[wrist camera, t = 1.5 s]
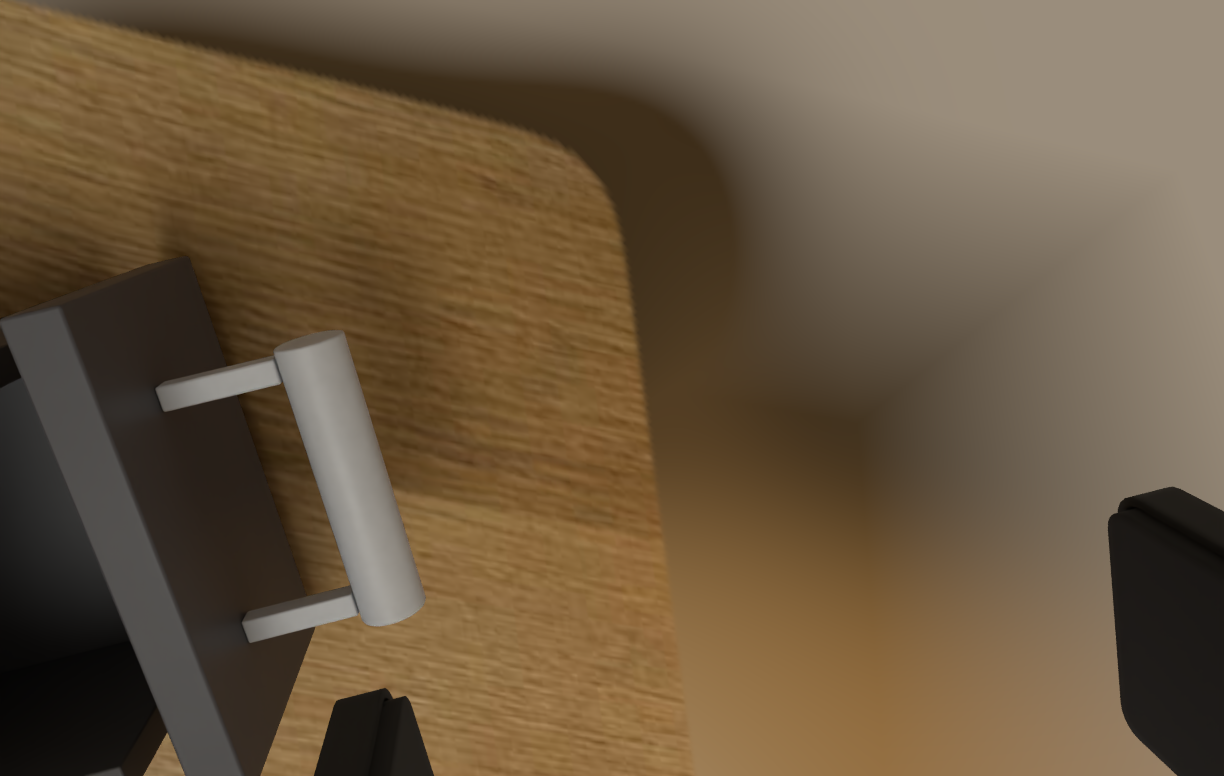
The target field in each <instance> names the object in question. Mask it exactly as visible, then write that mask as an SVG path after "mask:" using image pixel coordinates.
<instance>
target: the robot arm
mask: <svg viewBox="0 0 1224 776" xmlns="http://www.w3.org/2000/svg"><path fill="white" fill-rule="evenodd" d="M1108 536H1109V549H1110V563H1111V577H1112V589H1113V603H1114V617H1115V630H1116V644H1117V658H1118V669H1119V670H1118V671H1119V685H1120V698H1121V707H1122V711H1123V714H1124V717H1125V720H1126V722H1127V724H1128V726H1129V727H1130V729H1131V730H1132V732H1133V733H1134V734H1135V736H1136V737H1137V738H1138V739H1139V740H1140V741H1141V742H1142V743H1143V744H1144V745H1146V746H1147V747H1148V748H1149V749H1150V750H1151V751H1152V752H1153V753H1154V754H1155V755H1156V756H1157V757H1158V758H1159V759H1160V760H1161V761H1162V762H1164V763H1165V764H1166V765H1167V766H1168V767H1169V768H1170V769H1171V770H1172V771H1173V772H1174V773H1175V774H1176V775H1177V776H1224V512H1223V511H1222V510H1220V509H1218V508H1216V507H1214V506H1212V505H1210V504H1208V503H1206V502H1204V501H1202V500H1201V499H1199V498H1197V497H1195V496H1193V495H1191V494H1189V493H1187V492H1185V491H1183V490H1181V489H1179V488H1175V487H1168V488H1163V489H1159V490H1156V491H1152V492H1148V493H1144V494H1140V495H1136V496H1132V497H1128V498H1125V499H1124V500H1123V501H1121V502H1120V505H1119V508H1118V513H1116V514H1113V515H1112V516H1111V517H1110V519H1109V521H1108ZM314 776H434V774H433V771H432V768H431V765H430V762H429V759H428V756H427V752H426V749H425V746H424V743H423V740H422V737H421V734H420V731H419V727H418V724H417V721H416V718H415V715H414V712H413V709H412V706H411V703H410V701H409V699H408V698H407V697H406V696H404V697H400V698H396V699H393V698H392V696H391V694H390V692H389V691H388V690H387V689H386V688H383V689H379V690H375V691H372V692H368V693H364V694H360V695H356V696H352V697H348V698H344V699H340V700H338V701H336V703H335V705H334V707H333V711H332V714H331V718H330V721H329V725H328V728H327V732H326V735H325V739H324V742H323V746H322V749H321V753H320V756H319V760H318V763H317V767H316V770H315V774H314Z"/></svg>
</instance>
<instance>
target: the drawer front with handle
mask: <svg viewBox="0 0 1224 776" xmlns="http://www.w3.org/2000/svg"><path fill="white" fill-rule="evenodd" d="M282 382H283V383H284V386H285V389H286V392H287V395H288V398H289V401H290V404H291V407H292V410H293V413H294V416H295V419H296V422H297V425H298V428H299V431H300V434H301V437H302V440H303V443H304V446H305V449H306V452H307V455H308V458H309V461H310V464H311V467H312V470H313V473H314V476H315V479H316V482H317V485H318V488H319V491H320V494H321V497H322V500H323V503H324V506H325V509H326V512H327V515H328V518H329V522H330V525H331V528H332V531H333V534H334V537H335V540H336V543H337V546H338V549H339V552H340V555H341V558H342V561H343V564H344V567H345V570H346V573H347V576H348V579H349V582H350V586H346V587H342V588H338V589H334V590H330V591H326V592H322V593H318V594H314V595H310V596H307V595H306V593H305V590H304V587H303V584H302V581H301V578H300V575H299V572H298V569H297V567H296V564H295V561H294V558H293V555H292V552H291V549H290V546H289V544H288V541H287V538H286V535H285V532H284V529H283V526H282V523H281V521H280V518H279V515H278V512H277V509H276V506H275V503H274V500H273V497H272V495H271V492H270V489H269V486H268V483H267V480H266V477H265V474H264V472H263V469H262V466H261V463H260V460H259V457H258V454H257V451H256V449H255V446H254V443H253V440H252V437H251V434H250V431H249V428H248V425H247V423H246V420H245V417H244V414H243V411H242V408H241V405H240V402H239V400H238V397H237V395H238V394H242V393H246V392H251V391H255V390H259V389H263V388H267V387H271V386H276V385H279V384H281V383H282ZM425 599H426V597H425V593H424V590H423V587H422V584H421V580H420V577H419V574H418V571H417V567H416V564H415V561H414V558H413V554H412V551H411V548H410V545H409V541H408V538H407V535H406V532H405V528H404V525H403V522H402V519H401V515H400V512H399V509H398V506H397V502H396V499H395V496H394V493H393V489H392V486H391V483H390V480H389V476H388V473H387V470H386V467H385V463H384V460H383V457H382V454H381V450H380V447H379V444H378V441H377V437H376V434H375V431H374V428H373V424H372V421H371V418H370V415H369V411H368V408H367V405H366V402H365V398H364V395H363V392H362V389H361V385H360V382H359V379H358V376H357V372H356V369H355V366H354V363H353V359H352V356H351V353H350V350H349V346H348V343H347V340H346V337H345V333H344V332H343V331H342V330H329V331H323V332H318V333H314V334H310V335H306V336H303V337H299V338H296V339H293V340H290V341H288V342H285V343H283V344H281V345H279V346H278V347H276V348H275V349H274V355H273V356H269V357H265V358H261V359H257V360H253V361H248V362H244V363H240V364H236V365H232V366H227V365H226V362H225V359H224V356H223V353H222V351H221V348H220V345H219V342H218V339H217V336H216V333H215V330H214V328H213V325H212V322H211V319H210V316H209V313H208V310H207V307H206V305H205V302H204V299H203V296H202V293H201V290H200V287H199V284H198V281H197V279H196V276H195V273H194V270H193V267H192V264H191V261H190V258H189V257H188V256H183V257H178V258H174V259H170V260H166V261H161V262H157V263H153V264H148V265H145V266H142V267H140V268H137V269H134V270H131V271H129V272H126V273H123V274H120V275H118V276H115V277H112V278H110V279H107V280H104V281H101V282H99V283H96V284H93V285H90V286H88V287H85V288H82V289H80V290H77V291H74V292H71V293H69V294H66V295H63V296H60V297H58V298H55V299H52V300H50V301H47V302H44V303H41V304H39V305H36V306H33V307H30V308H28V309H25V310H22V311H20V312H17V313H14V314H11V315H9V316H6V317H3V318H1V319H0V776H143V775H144V773H145V772H146V770H147V768H148V766H149V764H150V763H151V761H152V759H153V757H154V755H155V754H156V752H157V750H158V748H159V746H160V745H161V743H162V741H163V739H164V737H165V735H166V734H167V732H168V734H169V737H170V739H171V742H172V744H173V746H174V749H175V751H176V754H177V756H178V759H179V761H180V763H181V766H182V768H183V771H184V773H185V775H186V776H260V775H261V772H262V770H263V767H264V764H265V761H266V759H267V756H268V753H269V751H270V748H271V745H272V743H273V740H274V737H275V735H276V732H277V729H278V726H279V724H280V721H281V718H282V716H283V713H284V710H285V708H286V705H287V702H288V700H289V697H290V694H291V691H292V689H293V686H294V683H295V681H296V678H297V675H298V673H299V670H300V667H301V665H302V662H303V659H304V656H305V654H306V651H307V648H308V646H309V643H310V640H311V638H312V635H313V632H314V630H315V627H316V626H319V625H322V624H326V623H330V622H334V621H338V620H342V619H346V618H350V617H354V616H357V615H358V613H359V612H360V615H361V618H362V620H363V622H364V623H366V624H367V625H370V626H385V625H390V624H393V623H397V622H399V621H402V620H404V619H406V618H408V617H410V616H412V615H413V614H415V613H416V612H417V611H419V610H420V609H421V608H422V606H423V605H424V603H425Z"/></svg>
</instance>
